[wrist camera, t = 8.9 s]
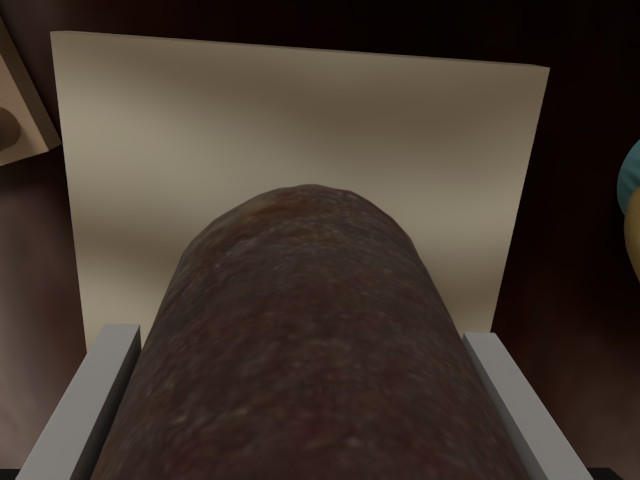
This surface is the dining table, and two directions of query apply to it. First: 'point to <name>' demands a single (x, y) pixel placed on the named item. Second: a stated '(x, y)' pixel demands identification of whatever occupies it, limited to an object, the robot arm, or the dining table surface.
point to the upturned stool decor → (21, 109)
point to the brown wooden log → (305, 358)
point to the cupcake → (631, 204)
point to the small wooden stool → (285, 155)
